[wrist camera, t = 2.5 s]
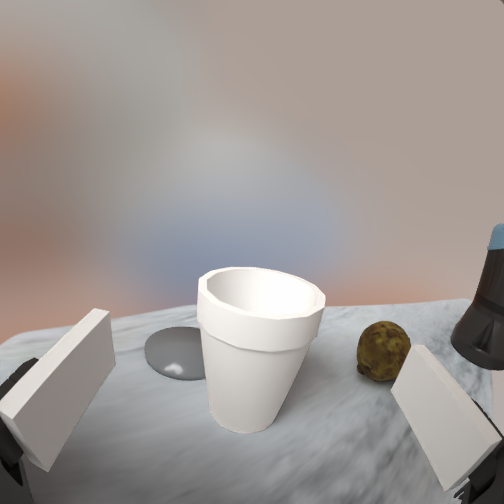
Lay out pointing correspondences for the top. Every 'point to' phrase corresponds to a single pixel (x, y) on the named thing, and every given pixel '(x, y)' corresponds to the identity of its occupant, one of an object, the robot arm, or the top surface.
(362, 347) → the potato
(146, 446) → the top surface
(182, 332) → the coaster
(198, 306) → the foam cup
